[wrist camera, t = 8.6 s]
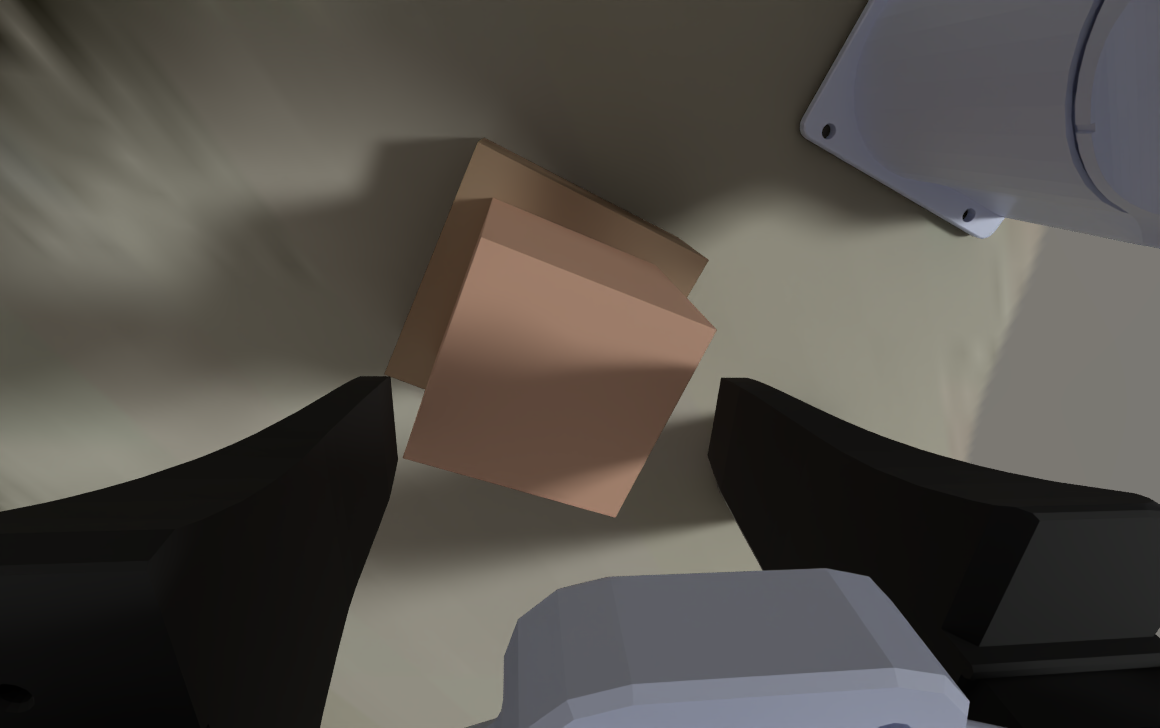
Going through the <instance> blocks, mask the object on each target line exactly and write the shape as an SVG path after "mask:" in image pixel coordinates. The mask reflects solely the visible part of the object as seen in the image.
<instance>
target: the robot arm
mask: <svg viewBox="0 0 1160 728" xmlns="http://www.w3.org/2000/svg"><path fill="white" fill-rule="evenodd" d="M826 124H828V125H829V126H830V133H829V135H828V136H827V138H823V136H822V130H823V127H824V126H825V125H826ZM800 132H801V134H802V136H803V137H804V138H806V139H807V140H809V141H811V142H812V143H814V144H816V145H818V146H819V147H821V148H823V149H824V150H826V151H828V152H829V153H831V154H833V155H835V156H836V157H838V158H840V159H841V160H843V161H845V162H847V163H848V164H850V165H852V166H853V167H855V168H857V169H859V170H860V171H862V172H864V173H865V174H867V175H869V176H870V177H872V178H874V179H876V180H877V181H879V182H881V183H882V184H884V185H886V186H888V187H889V188H891V189H893V190H894V191H896V192H898V193H899V194H901V195H903V196H905V197H906V198H908V199H910V200H911V201H913V202H915V203H917V204H918V205H920V206H922V207H923V208H925V209H927V210H929V211H930V212H932V213H934V214H935V215H937V216H939V217H940V218H942V219H944V220H946V221H947V222H949V223H951V224H952V225H954V226H956V227H958V228H959V229H961V230H963V231H964V232H966V233H968V234H970V235H971V236H974V237H978V238H981V239H982V238H987V237H989V236H991V235H992V234H993V233H994V232H995V230H996V229H997V228H998V226H999V225H1000V224H1001V222H1002V221H1003V220H1004V218H1005V217H1006V218H1011V219H1015V220H1020V221H1025V222H1030V223H1035V224H1040V225H1045V226H1050V227H1054V228H1060V229H1064V230H1070V231H1074V232H1079V233H1084V234H1089V235H1093V236H1099V237H1103V238H1108V239H1113V240H1118V241H1123V242H1128V243H1133V244H1137V245H1143V246H1150V247H1154V248H1159V249H1160V0H869V1H868V3H867V5H866V6H865V8H864V10H863V12H862V13H861V15H860V17H859V19H858V20H857V22H856V24H855V26H854V28H853V29H852V31H851V33H850V35H849V36H848V38H847V40H846V42H845V43H844V45H843V47H842V49H841V50H840V52H839V54H838V56H837V58H836V59H835V61H834V63H833V65H832V66H831V68H830V70H829V72H828V73H827V75H826V77H825V79H824V80H823V82H822V84H821V86H820V87H819V89H818V91H817V93H816V95H815V96H814V98H813V100H812V102H811V103H810V105H809V107H808V109H807V110H806V112H805V114H804V116H803V117H802V120H801V122H800ZM967 209H968V214H967V216H966V217H965V218H964V219H963V214H964V212H965V211H966V210H967ZM708 458H709V461H710V464H711V467H712V470H713V473H714V476H715V478H716V481H717V484H718V486H719V489H720V492H721V493H722V495H723V497H724V499H725V501H726V503H727V505H728V507H729V509H730V511H731V513H732V514H733V516H734V518H735V520H736V522H737V524H738V526H739V527H740V529H741V531H742V533H743V535H744V537H745V538H746V540H747V542H748V544H749V546H750V548H751V549H752V551H753V553H754V555H755V557H756V559H757V560H758V562H759V564H760V566H761V568H762V570H763V571H743V572H717V573H692V574H666V575H641V576H616V577H605V578H601V579H597V580H592V581H588V582H584V583H580V584H576V585H572V586H567V587H563V588H560V589H557V590H556V591H555V592H553V593H552V594H551V595H549V596H548V597H547V598H545V599H544V600H543V601H541V602H540V603H539V604H538V605H536V606H535V607H534V608H532V609H531V610H530V611H528V612H527V613H526V614H524V615H523V616H522V617H521V618H519V619H518V621H517V624H516V626H515V629H514V632H513V634H512V637H511V640H510V642H509V645H508V647H507V650H506V653H505V655H504V690H503V703H502V709H501V712H500V714H499V715H498V717H497V718H495V719H492V720H489V721H485V722H482V723H479V724H475V725H472V726H469V727H466V728H1160V638H1159V637H1158V636H1157V635H1155V633H1156V632H1157V631H1158V629H1159V628H1160V504H1158V503H1156V502H1155V501H1153V500H1151V499H1150V498H1147V497H1144V496H1142V495H1138V494H1135V493H1129V492H1122V491H1114V490H1108V489H1101V488H1095V487H1087V486H1081V485H1074V484H1067V483H1060V482H1054V481H1048V480H1043V479H1038V478H1033V477H1028V476H1023V475H1018V474H1013V473H1008V472H1004V471H999V470H995V469H991V468H986V467H982V466H978V465H974V464H970V463H967V462H963V461H959V460H955V459H952V458H948V457H944V456H941V455H937V454H934V453H931V452H927V451H924V450H921V449H918V448H915V447H912V446H909V445H906V444H903V443H900V442H897V441H894V440H891V439H889V438H886V437H883V436H880V435H878V434H875V433H873V432H870V431H867V430H865V429H863V428H860V427H858V426H856V425H853V424H851V423H849V422H846V421H844V420H841V419H839V418H837V417H835V416H833V415H830V414H828V413H826V412H824V411H822V410H820V409H817V408H815V407H813V406H811V405H809V404H807V403H805V402H803V401H801V400H799V399H796V398H794V397H792V396H790V395H788V394H786V393H784V392H782V391H780V390H777V389H775V388H773V387H771V386H768V385H766V384H764V383H761V382H759V381H756V380H753V379H750V378H721V382H720V388H719V393H718V399H717V405H716V411H715V416H714V422H713V428H712V434H711V440H710V445H709V451H708ZM397 462H398V455H397V444H396V433H395V422H394V411H393V400H392V389H391V378H390V376H360V377H357V378H355V379H353V380H351V381H349V382H347V383H345V384H344V385H342V386H340V387H338V388H337V389H335V390H333V391H332V392H330V393H328V394H327V395H325V396H323V397H321V398H320V399H318V400H316V401H315V402H313V403H311V404H310V405H308V406H306V407H304V408H303V409H301V410H299V411H298V412H296V413H294V414H292V415H290V416H288V417H286V418H284V419H283V420H281V421H279V422H277V423H275V424H273V425H271V426H269V427H267V428H266V429H264V430H262V431H260V432H258V433H256V434H254V435H252V436H250V437H248V438H245V439H243V440H241V441H239V442H237V443H234V444H232V445H230V446H227V447H225V448H222V449H220V450H218V451H215V452H213V453H210V454H208V455H206V456H203V457H200V458H198V459H195V460H192V461H189V462H186V463H183V464H180V465H177V466H174V467H171V468H169V469H166V470H163V471H160V472H157V473H154V474H151V475H148V476H145V477H142V478H139V479H135V480H132V481H129V482H125V483H121V484H118V485H114V486H111V487H107V488H104V489H100V490H96V491H92V492H88V493H84V494H80V495H76V496H72V497H68V498H64V499H60V500H55V501H51V502H47V503H42V504H37V505H32V506H27V507H22V508H17V509H12V510H7V511H2V512H0V728H320V725H321V720H322V716H323V711H324V707H325V703H326V698H327V694H328V690H329V686H330V682H331V677H332V673H333V669H334V665H335V661H336V656H337V653H338V649H339V645H340V641H341V637H342V633H343V629H344V625H345V622H346V618H347V614H348V610H349V607H350V604H351V601H352V598H353V594H354V591H355V588H356V586H357V583H358V580H359V578H360V575H361V573H362V570H363V567H364V565H365V562H366V560H367V557H368V554H369V552H370V549H371V546H372V544H373V541H374V539H375V536H376V533H377V531H378V528H379V526H380V523H381V520H382V518H383V515H384V512H385V509H386V507H387V504H388V501H389V498H390V494H391V490H392V485H393V481H394V476H395V471H396V466H397Z"/></svg>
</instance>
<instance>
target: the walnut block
mask: <svg viewBox="0 0 1160 728" xmlns="http://www.w3.org/2000/svg"><path fill="white" fill-rule="evenodd" d="M492 198H495V199H497V200H500V201H502V202H505V203H507V204H509V205H512V206H514V207H517V208H519V209H521V210H524V211H526V212H529V213H531V214H534V215H536V216H538V217H541V218H543V219H546V220H548V221H550V222H553V223H555V224H558V225H560V226H562V227H565V228H567V229H570V230H572V231H575V232H577V233H579V234H582V235H584V236H587V237H589V238H591V239H594V240H596V241H599V242H601V243H603V244H606V245H608V246H611V247H613V248H615V249H618V250H620V251H623V252H625V253H628V254H630V255H632V256H635V257H637V258H640V259H642V260H644V261H647V262H649V263H652V264H654V265H656V266H657V267H658V268H659V269H660V270H661V271H662V272H663V274H664V275H665V276H666V277H667V278H668V279H669V280H670V281H671V282H672V283H673V284H674V285H675V286H676V287H677V288H678V289H679V290H680V291H681V293H682V294H683V295H684V296H685V297H686V298H687V297H688V295H689V293H690V291H691V290H692V288H693V286H694V285H695V283H696V281H697V279H698V278H699V276H700V274H701V273H702V271H703V269H704V267H705V266H706V264H707V262H708V261H709V260H708V259H707V258H705V257H704V256H702V255H701V254H700V253H698V252H697V251H696V250H694V249H693V248H692V247H690V246H689V245H688V244H686V243H685V242H683V241H682V240H681V239H679V238H678V237H676V236H674V235H672V234H670V233H668V232H666V231H664V230H662V229H660V228H658V227H657V226H655V225H653V224H651V223H649V222H647V221H645V220H643V219H641V218H639V217H637V216H635V215H633V214H631V213H629V212H627V211H625V210H624V209H622V208H620V207H618V206H616V205H614V204H612V203H610V202H608V201H606V200H604V199H602V198H600V197H598V196H596V195H594V194H592V193H591V192H589V191H587V190H585V189H583V188H581V187H579V186H577V185H575V184H573V183H571V182H569V181H567V180H565V179H563V178H561V177H559V176H558V175H556V174H554V173H552V172H550V171H548V170H546V169H544V168H542V167H540V166H538V165H536V164H534V163H532V162H530V161H528V160H526V159H525V158H523V157H521V156H519V155H517V154H515V153H513V152H511V151H509V150H507V149H505V148H503V147H501V146H499V145H497V144H495V143H493V142H492V141H490V140H488V139H486V138H483V139H481V140H480V141H478V143H477V145H476V147H475V150H474V152H473V155H472V157H471V160H470V162H469V165H468V167H467V170H466V172H465V175H464V177H463V180H462V182H461V185H460V187H459V190H458V192H457V195H456V197H455V200H454V202H453V205H452V207H451V210H450V212H449V215H448V217H447V220H446V222H445V225H444V227H443V230H442V232H441V234H440V237H439V239H438V242H437V244H436V247H435V249H434V252H433V254H432V257H431V259H430V262H429V264H428V267H427V269H426V272H425V274H424V277H423V279H422V282H421V284H420V287H419V289H418V292H417V294H416V297H415V299H414V302H413V304H412V307H411V309H410V312H409V314H408V317H407V319H406V321H405V324H404V326H403V329H402V331H401V334H400V336H399V339H398V341H397V344H396V346H395V349H394V351H393V354H392V356H391V359H390V361H389V364H388V366H387V369H386V371H385V375H387V376H390V377H393V378H396V379H398V380H401V381H404V382H406V383H409V384H412V385H414V386H417V387H420V388H422V389H425V390H426V387H427V384H428V381H429V378H430V375H431V372H432V369H433V366H434V363H435V360H436V357H437V354H438V351H439V348H440V345H441V343H442V340H443V337H444V334H445V331H446V328H447V326H448V323H449V320H450V317H451V314H452V311H453V309H454V306H455V303H456V300H457V297H458V295H459V292H460V289H461V286H462V283H463V280H464V278H465V275H466V272H467V269H468V266H469V263H470V261H471V258H472V255H473V252H474V249H475V246H476V244H477V241H478V238H479V235H480V232H481V230H482V227H483V224H484V221H485V218H486V215H487V213H488V210H489V207H490V204H491V201H492Z"/></svg>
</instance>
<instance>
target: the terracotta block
mask: <svg viewBox="0 0 1160 728" xmlns="http://www.w3.org/2000/svg"><path fill="white" fill-rule="evenodd" d="M716 331H717V330H716V328H715V327H714V326H713V325H712V324H711V323H710V322H709V321H708V320H707V319H706V318H705V317H704V316H703V315H702V314H701V313H700V312H699V311H698V309H697V308H696V307H695V306H694V305H693V304H692V303H691V302H690V301H689V300H688V299H687V298H686V297H685V296H684V295H683V294H682V293H681V291H680V290H679V289H678V288H677V287H676V286H675V285H674V284H673V283H672V282H671V281H670V280H669V279H668V278H667V277H666V276H665V275H664V274H663V272H662V271H661V270H660V269H659V268H658V267H657V266H656V265H654V264H652V263H649V262H647V261H644V260H642V259H640V258H637V257H635V256H632V255H630V254H628V253H625V252H623V251H620V250H618V249H615V248H613V247H611V246H608V245H606V244H603V243H601V242H599V241H596V240H594V239H591V238H589V237H587V236H584V235H582V234H579V233H577V232H575V231H572V230H570V229H567V228H565V227H562V226H560V225H558V224H555V223H553V222H550V221H548V220H546V219H543V218H541V217H538V216H536V215H534V214H531V213H529V212H526V211H524V210H521V209H519V208H517V207H514V206H512V205H509V204H507V203H505V202H502V201H500V200H497V199H495V198H492V201H491V204H490V207H489V210H488V213H487V215H486V218H485V221H484V224H483V227H482V230H481V232H480V235H479V238H478V241H477V244H476V246H475V249H474V252H473V255H472V258H471V261H470V263H469V266H468V269H467V272H466V275H465V278H464V280H463V283H462V286H461V289H460V292H459V295H458V297H457V300H456V303H455V306H454V309H453V311H452V314H451V317H450V320H449V323H448V326H447V328H446V331H445V334H444V337H443V340H442V343H441V345H440V348H439V351H438V354H437V357H436V360H435V363H434V366H433V369H432V372H431V375H430V378H429V381H428V384H427V387H426V390H425V393H424V396H423V399H422V402H421V405H420V408H419V411H418V414H417V417H416V420H415V423H414V426H413V429H412V432H411V435H410V438H409V441H408V444H407V447H406V450H405V453H404V456H403V458H404V459H408V460H412V461H415V462H419V463H422V464H426V465H429V466H433V467H436V468H440V469H444V470H447V471H451V472H454V473H458V474H461V475H465V476H469V477H472V478H476V479H479V480H483V481H486V482H490V483H493V484H497V485H501V486H504V487H508V488H511V489H515V490H518V491H522V492H526V493H529V494H533V495H536V496H540V497H543V498H547V499H550V500H554V501H558V502H561V503H565V504H568V505H572V506H575V507H579V508H583V509H586V510H590V511H593V512H597V513H600V514H604V515H607V516H611V517H616V515H617V514H618V512H619V510H620V508H621V506H622V504H623V503H624V501H625V499H626V497H627V495H628V493H629V491H630V490H631V488H632V486H633V484H634V482H635V480H636V478H637V477H638V475H639V473H640V471H641V469H642V467H643V466H644V464H645V462H646V460H647V458H648V456H649V454H650V453H651V451H652V449H653V447H654V445H655V443H656V442H657V440H658V438H659V436H660V434H661V432H662V430H663V429H664V427H665V425H666V423H667V421H668V419H669V418H670V416H671V414H672V412H673V410H674V408H675V406H676V405H677V403H678V401H679V399H680V397H681V395H682V393H683V392H684V390H685V388H686V386H687V384H688V382H689V381H690V379H691V377H692V375H693V373H694V371H695V369H696V368H697V366H698V364H699V362H700V360H701V358H702V357H703V355H704V353H705V351H706V349H707V347H708V345H709V344H710V342H711V340H712V338H713V336H714V334H715V332H716Z"/></svg>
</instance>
